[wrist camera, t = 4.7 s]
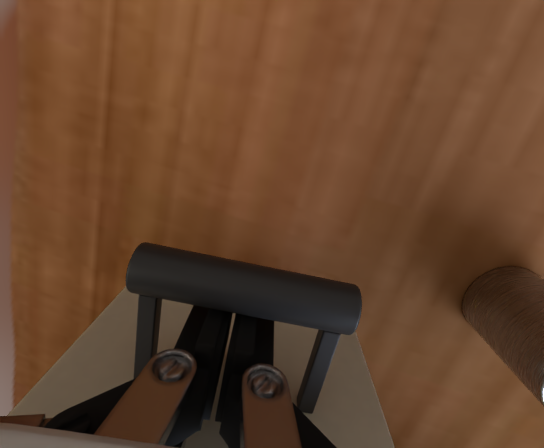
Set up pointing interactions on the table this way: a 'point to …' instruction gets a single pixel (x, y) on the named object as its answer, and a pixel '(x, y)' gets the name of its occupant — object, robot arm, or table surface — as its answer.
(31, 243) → the table surface
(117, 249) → the table surface
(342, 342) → the drawer
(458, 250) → the table surface
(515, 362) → the cylinder
